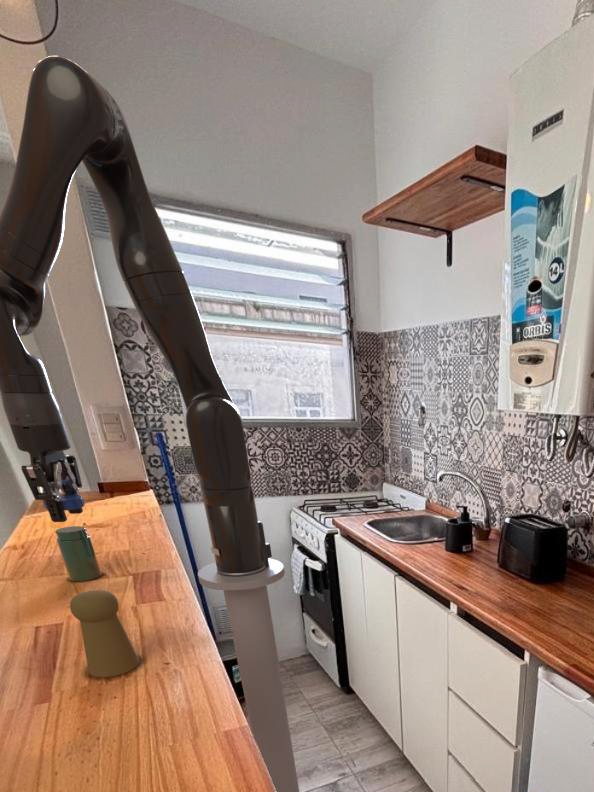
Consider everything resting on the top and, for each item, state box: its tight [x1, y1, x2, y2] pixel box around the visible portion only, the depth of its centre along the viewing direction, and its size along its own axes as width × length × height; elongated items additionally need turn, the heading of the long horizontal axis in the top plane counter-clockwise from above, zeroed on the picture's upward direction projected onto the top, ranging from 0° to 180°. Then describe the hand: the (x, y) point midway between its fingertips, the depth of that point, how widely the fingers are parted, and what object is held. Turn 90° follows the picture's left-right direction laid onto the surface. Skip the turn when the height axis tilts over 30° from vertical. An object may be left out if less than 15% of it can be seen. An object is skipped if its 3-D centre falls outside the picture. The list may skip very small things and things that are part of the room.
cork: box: [69, 589, 140, 678], centre depth 70 cm, size 6×6×11 cm
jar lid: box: [42, 493, 86, 512], centre depth 96 cm, size 6×6×2 cm
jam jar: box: [54, 525, 102, 582], centre depth 100 cm, size 5×5×10 cm
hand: (68, 517), depth 97 cm, fingers closed on jar lid, 5 cm apart
